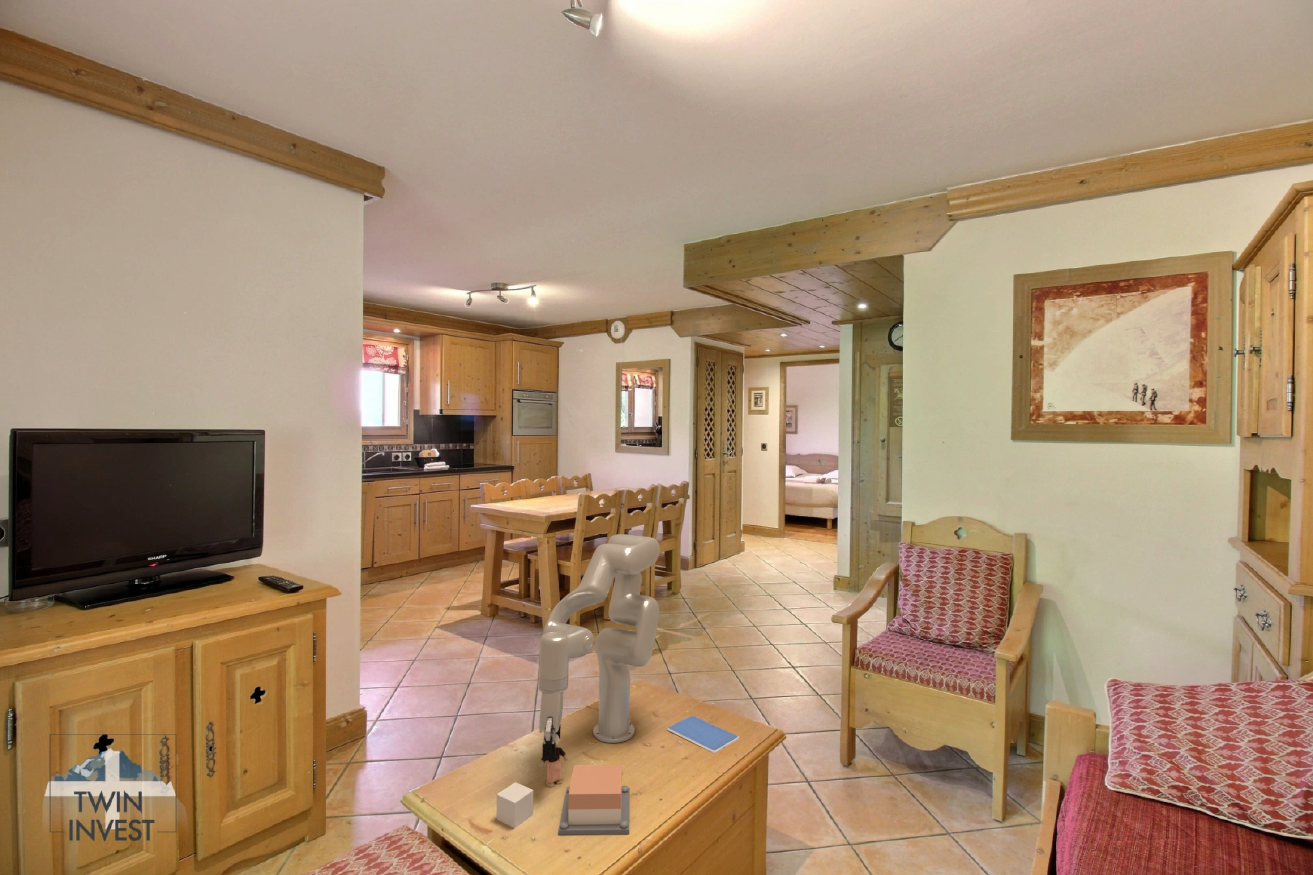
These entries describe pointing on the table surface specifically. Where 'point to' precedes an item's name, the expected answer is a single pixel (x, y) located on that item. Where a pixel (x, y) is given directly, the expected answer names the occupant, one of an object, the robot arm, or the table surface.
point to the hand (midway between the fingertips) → (551, 748)
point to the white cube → (514, 805)
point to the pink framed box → (595, 802)
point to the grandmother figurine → (554, 765)
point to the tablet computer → (703, 734)
